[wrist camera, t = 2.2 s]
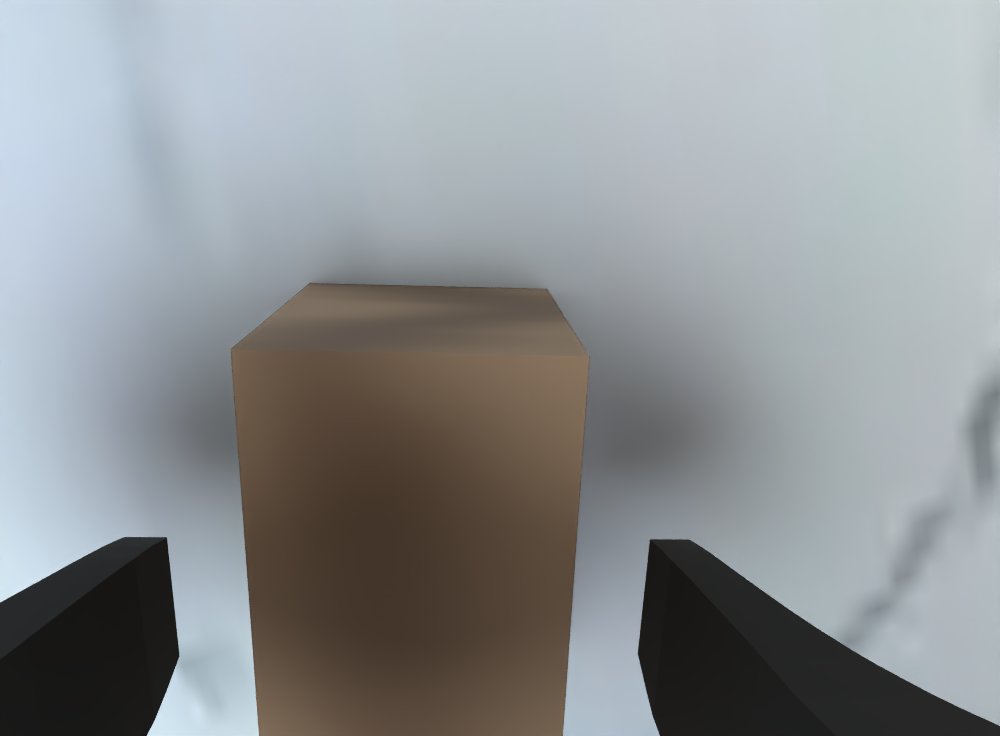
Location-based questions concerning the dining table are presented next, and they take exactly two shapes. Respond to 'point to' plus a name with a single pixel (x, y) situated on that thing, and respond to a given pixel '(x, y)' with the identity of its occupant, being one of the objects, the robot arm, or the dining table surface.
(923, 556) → the dining table surface
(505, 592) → the walnut block
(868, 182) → the dining table surface
